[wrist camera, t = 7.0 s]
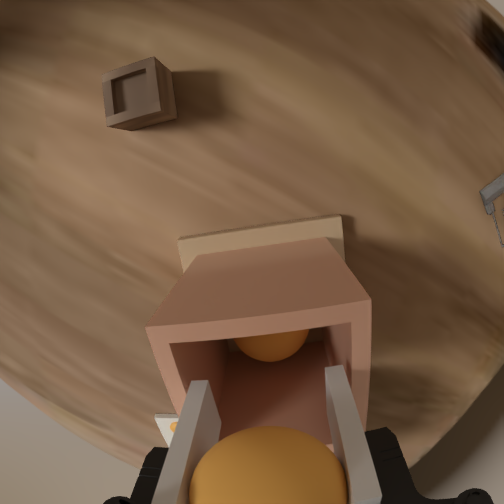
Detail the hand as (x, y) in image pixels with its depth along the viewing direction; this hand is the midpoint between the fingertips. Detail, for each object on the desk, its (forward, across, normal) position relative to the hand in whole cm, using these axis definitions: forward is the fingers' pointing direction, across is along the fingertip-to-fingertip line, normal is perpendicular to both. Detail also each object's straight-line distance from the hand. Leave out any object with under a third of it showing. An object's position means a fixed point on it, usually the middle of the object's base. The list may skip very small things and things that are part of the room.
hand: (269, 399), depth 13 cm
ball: (-3, 0, 0) cm, 3 cm away
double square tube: (+11, 0, -6) cm, 12 cm away
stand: (+11, -6, +16) cm, 20 cm away
